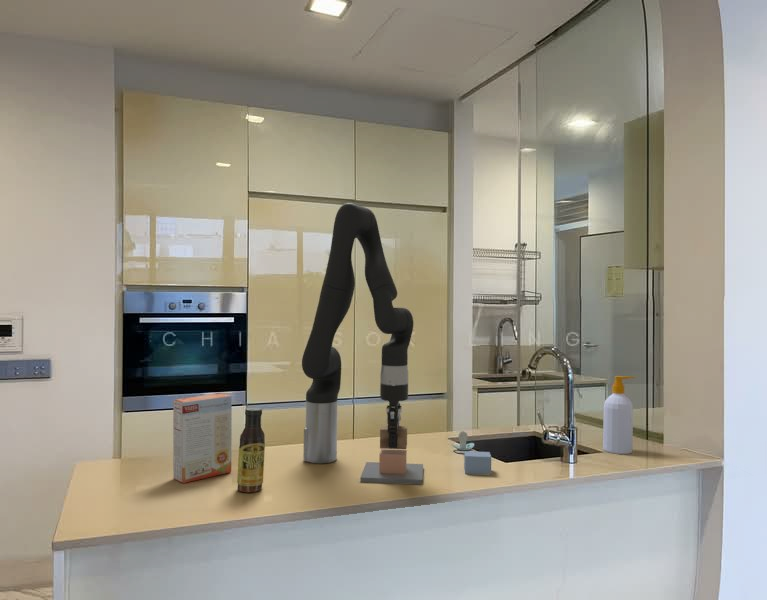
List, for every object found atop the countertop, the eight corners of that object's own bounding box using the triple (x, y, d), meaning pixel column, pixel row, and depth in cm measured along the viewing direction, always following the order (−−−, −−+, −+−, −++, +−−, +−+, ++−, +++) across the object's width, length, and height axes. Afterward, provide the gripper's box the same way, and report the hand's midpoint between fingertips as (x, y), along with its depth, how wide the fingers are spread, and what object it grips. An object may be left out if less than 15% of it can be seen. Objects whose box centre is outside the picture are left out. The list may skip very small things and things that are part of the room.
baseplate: (360, 482, 145) (360, 458, 145) (366, 466, 159) (366, 444, 159) (422, 484, 144) (422, 460, 144) (423, 468, 158) (423, 446, 158)
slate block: (465, 474, 153) (465, 456, 153) (464, 469, 158) (464, 451, 158) (491, 475, 153) (491, 456, 153) (489, 469, 158) (489, 452, 158)
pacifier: (478, 454, 174) (471, 448, 180) (479, 434, 174) (471, 429, 180) (456, 455, 172) (449, 450, 178) (456, 435, 172) (450, 430, 178)
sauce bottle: (240, 495, 134) (241, 412, 134) (234, 487, 140) (235, 407, 140) (267, 491, 137) (268, 410, 137) (260, 484, 143) (261, 405, 143)
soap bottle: (639, 454, 175) (640, 378, 175) (609, 454, 175) (610, 377, 175) (627, 447, 184) (628, 374, 184) (599, 447, 184) (599, 374, 184)
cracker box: (221, 468, 156) (222, 392, 156) (232, 473, 151) (233, 395, 152) (171, 478, 146) (172, 398, 146) (181, 484, 142) (183, 401, 142)
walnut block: (379, 448, 149) (380, 429, 149) (381, 443, 154) (381, 425, 154) (406, 449, 149) (406, 430, 149) (407, 444, 154) (407, 426, 154)
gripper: (382, 377, 159) (381, 438, 159) (378, 385, 145) (377, 451, 145) (409, 378, 158) (408, 438, 158) (407, 386, 144) (406, 452, 144)
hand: (393, 444), depth 152 cm, fingers closed on walnut block, 5 cm apart
